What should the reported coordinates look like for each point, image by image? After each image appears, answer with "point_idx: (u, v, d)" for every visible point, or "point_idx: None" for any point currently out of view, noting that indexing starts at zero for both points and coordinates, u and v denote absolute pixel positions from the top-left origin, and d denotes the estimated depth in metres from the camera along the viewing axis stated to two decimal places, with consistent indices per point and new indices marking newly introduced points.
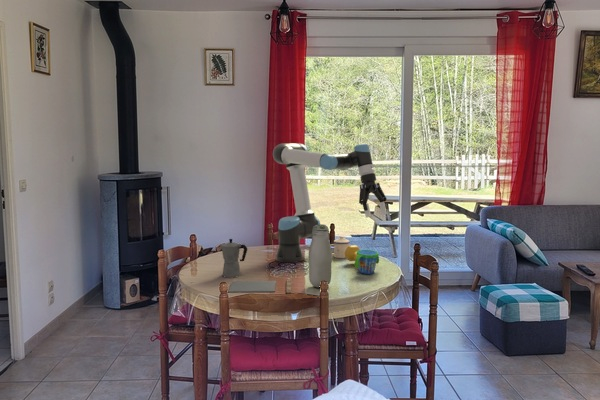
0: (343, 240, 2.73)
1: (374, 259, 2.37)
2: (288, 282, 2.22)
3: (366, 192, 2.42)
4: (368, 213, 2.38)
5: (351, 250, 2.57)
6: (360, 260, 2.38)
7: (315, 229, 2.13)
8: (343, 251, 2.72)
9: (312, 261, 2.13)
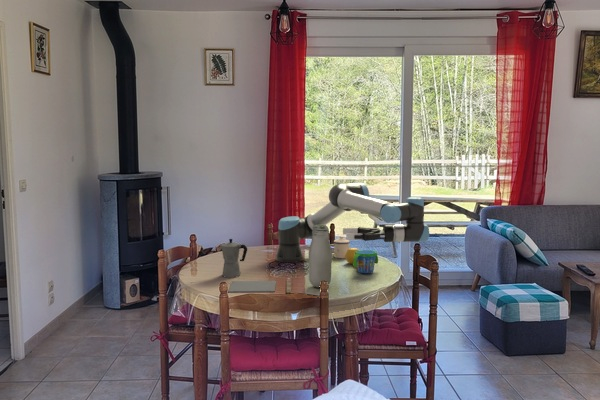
0: (343, 240, 2.73)
1: (372, 258, 2.37)
2: (288, 282, 2.22)
3: None
4: (350, 238, 2.09)
5: (351, 253, 2.58)
6: (358, 260, 2.39)
7: (315, 229, 2.13)
8: (343, 251, 2.72)
9: (312, 261, 2.13)
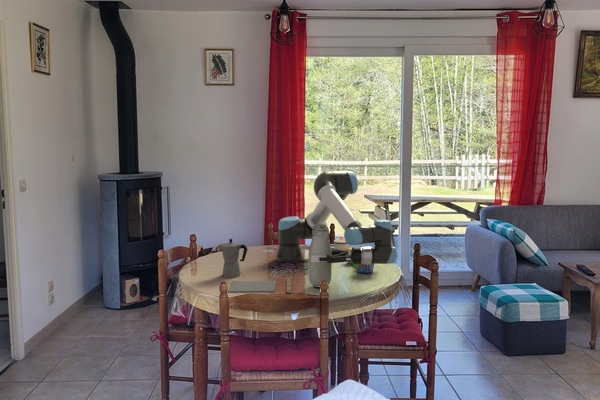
0: (343, 240, 2.73)
1: None
2: (288, 282, 2.22)
3: None
4: (315, 260, 2.11)
5: None
6: None
7: (315, 229, 2.13)
8: None
9: None
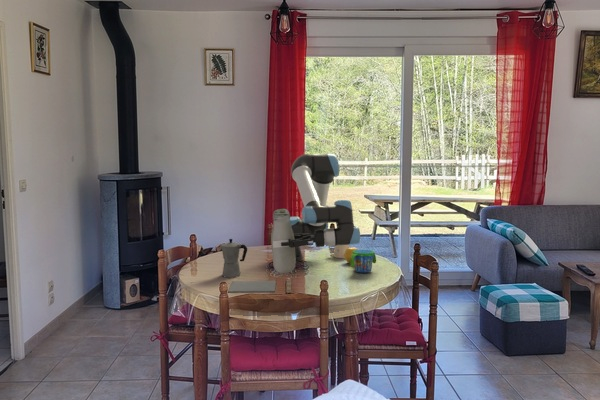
0: None
1: (370, 257, 2.38)
2: (288, 282, 2.22)
3: None
4: (277, 246, 2.06)
5: (350, 252, 2.59)
6: (356, 259, 2.40)
7: (275, 214, 2.08)
8: (343, 251, 2.72)
9: None
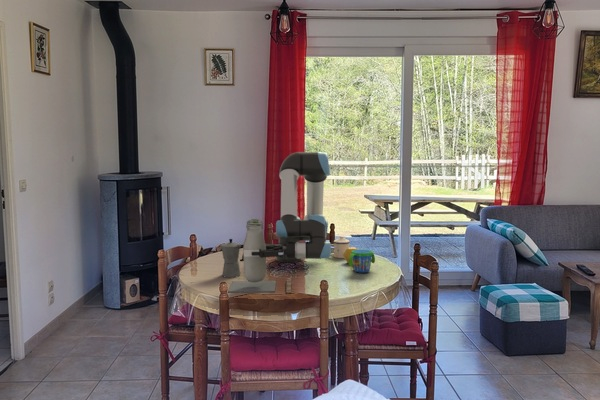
0: (343, 240, 2.73)
1: (368, 257, 2.39)
2: (288, 282, 2.22)
3: None
4: (247, 255, 2.10)
5: (349, 252, 2.59)
6: (354, 259, 2.40)
7: (248, 223, 2.12)
8: (343, 251, 2.72)
9: None
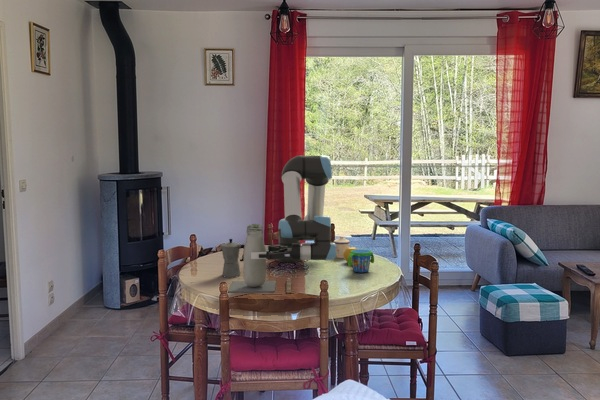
0: (343, 240, 2.73)
1: (367, 257, 2.39)
2: (288, 282, 2.22)
3: None
4: (254, 257, 2.09)
5: (349, 252, 2.60)
6: (353, 259, 2.41)
7: (249, 228, 2.12)
8: (343, 251, 2.72)
9: (245, 260, 2.13)
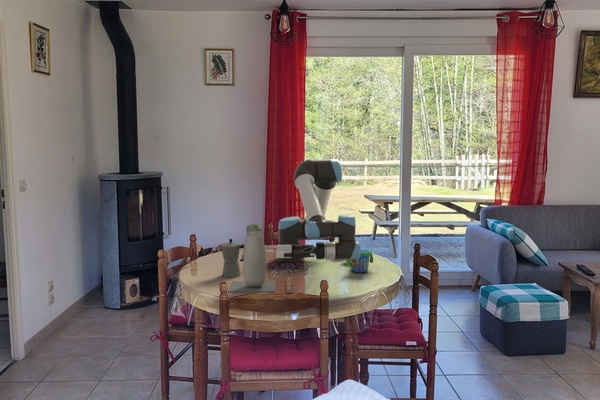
0: None
1: (366, 257, 2.39)
2: (288, 282, 2.22)
3: None
4: (280, 256, 2.09)
5: None
6: (352, 259, 2.41)
7: (248, 228, 2.13)
8: None
9: (245, 260, 2.13)
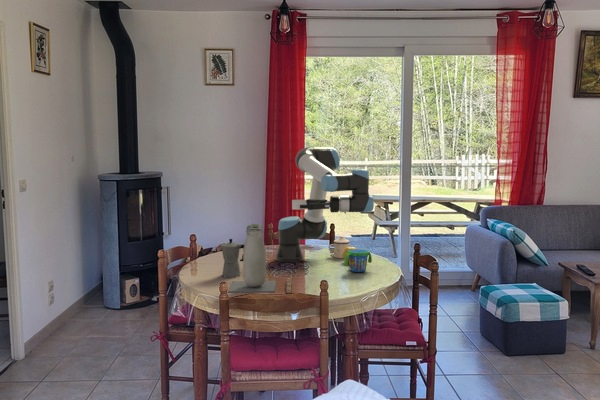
0: (343, 240, 2.73)
1: (363, 257, 2.39)
2: (288, 282, 2.22)
3: None
4: (295, 208, 2.15)
5: None
6: (350, 258, 2.41)
7: (248, 228, 2.12)
8: (343, 251, 2.72)
9: (245, 260, 2.13)
